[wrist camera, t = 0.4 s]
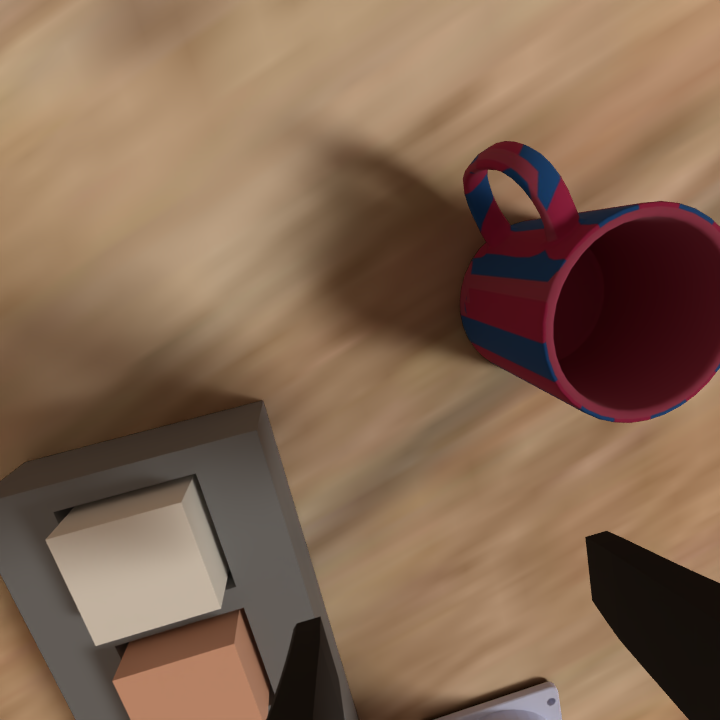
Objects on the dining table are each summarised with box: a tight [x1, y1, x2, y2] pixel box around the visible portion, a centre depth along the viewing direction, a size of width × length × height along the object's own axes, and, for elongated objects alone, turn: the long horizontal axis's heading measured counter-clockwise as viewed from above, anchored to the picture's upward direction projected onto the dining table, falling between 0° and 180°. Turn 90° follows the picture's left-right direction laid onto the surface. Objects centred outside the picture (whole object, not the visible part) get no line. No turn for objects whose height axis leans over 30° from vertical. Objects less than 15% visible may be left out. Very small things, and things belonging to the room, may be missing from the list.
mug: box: [460, 141, 720, 423], centre depth 16 cm, size 7×10×7 cm
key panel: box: [0, 401, 359, 720], centre depth 20 cm, size 19×10×3 cm, turn 13°
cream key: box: [46, 474, 229, 646], centre depth 16 cm, size 4×4×2 cm
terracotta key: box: [112, 608, 270, 720], centre depth 18 cm, size 4×4×2 cm
